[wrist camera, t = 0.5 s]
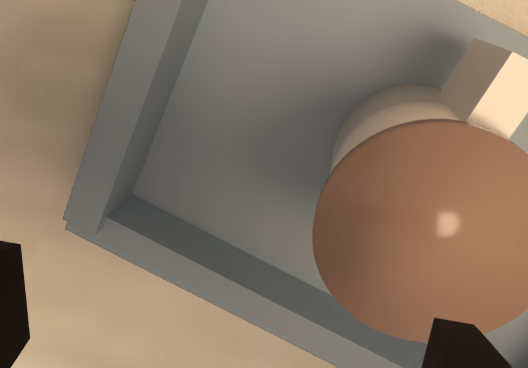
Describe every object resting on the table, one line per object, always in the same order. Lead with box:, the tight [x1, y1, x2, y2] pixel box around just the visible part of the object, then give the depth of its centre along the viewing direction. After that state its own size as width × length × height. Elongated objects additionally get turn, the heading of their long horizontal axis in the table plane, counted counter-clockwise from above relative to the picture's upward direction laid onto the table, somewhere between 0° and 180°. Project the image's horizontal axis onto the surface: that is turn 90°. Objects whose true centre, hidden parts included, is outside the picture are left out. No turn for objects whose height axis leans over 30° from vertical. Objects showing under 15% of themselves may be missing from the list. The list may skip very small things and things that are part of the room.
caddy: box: [63, 0, 528, 368], centre depth 16 cm, size 18×13×3 cm
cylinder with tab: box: [312, 38, 528, 342], centre depth 13 cm, size 5×7×6 cm
